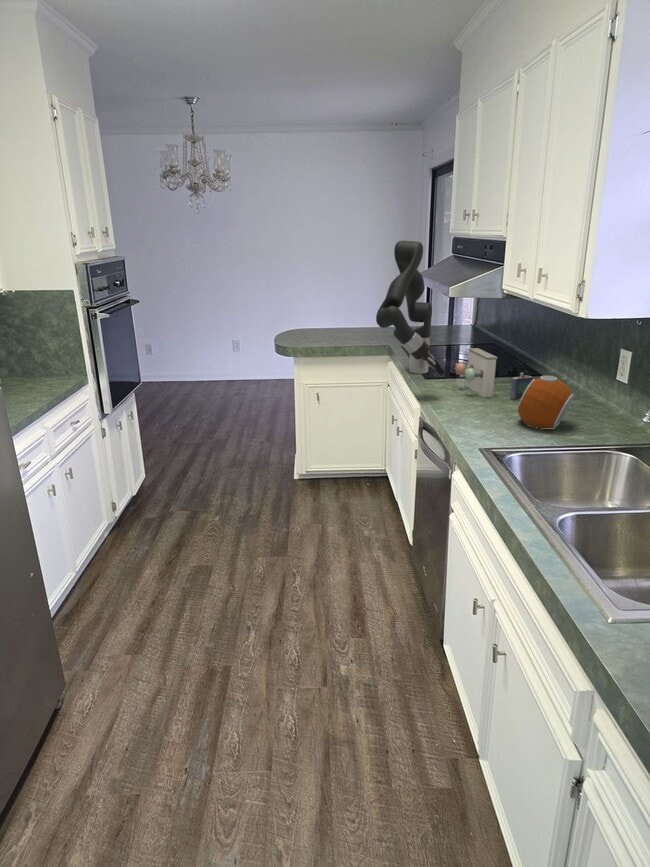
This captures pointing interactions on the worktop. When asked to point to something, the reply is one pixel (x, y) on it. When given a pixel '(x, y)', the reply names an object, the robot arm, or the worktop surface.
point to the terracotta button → (461, 368)
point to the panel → (487, 365)
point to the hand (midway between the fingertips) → (442, 373)
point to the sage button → (472, 374)
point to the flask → (519, 386)
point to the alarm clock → (544, 402)
